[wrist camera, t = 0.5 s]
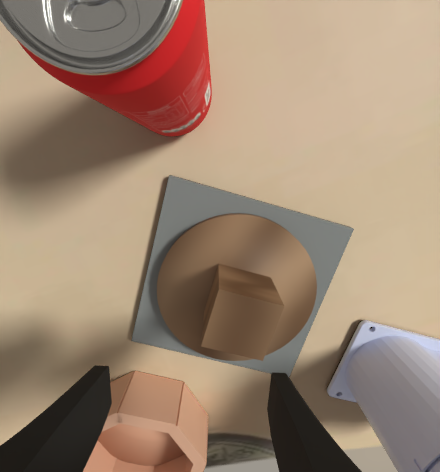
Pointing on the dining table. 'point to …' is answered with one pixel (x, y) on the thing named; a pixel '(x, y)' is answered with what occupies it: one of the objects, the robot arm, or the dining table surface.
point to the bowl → (151, 428)
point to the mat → (222, 202)
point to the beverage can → (123, 54)
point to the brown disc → (236, 287)
